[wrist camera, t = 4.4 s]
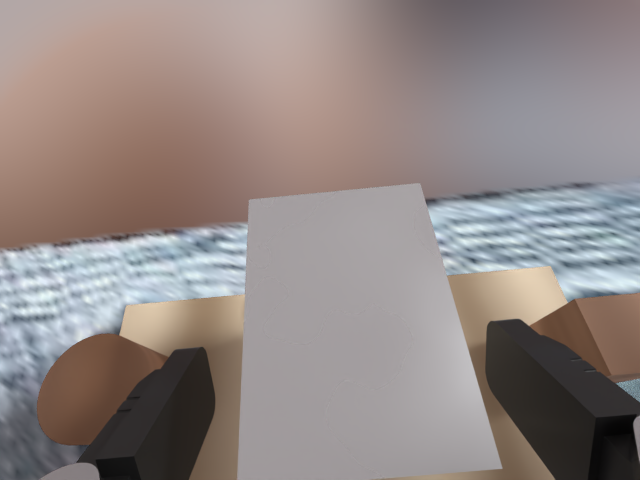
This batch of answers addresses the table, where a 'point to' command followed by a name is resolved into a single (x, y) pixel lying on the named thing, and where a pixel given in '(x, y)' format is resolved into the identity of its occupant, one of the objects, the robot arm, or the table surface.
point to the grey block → (354, 344)
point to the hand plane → (227, 348)
